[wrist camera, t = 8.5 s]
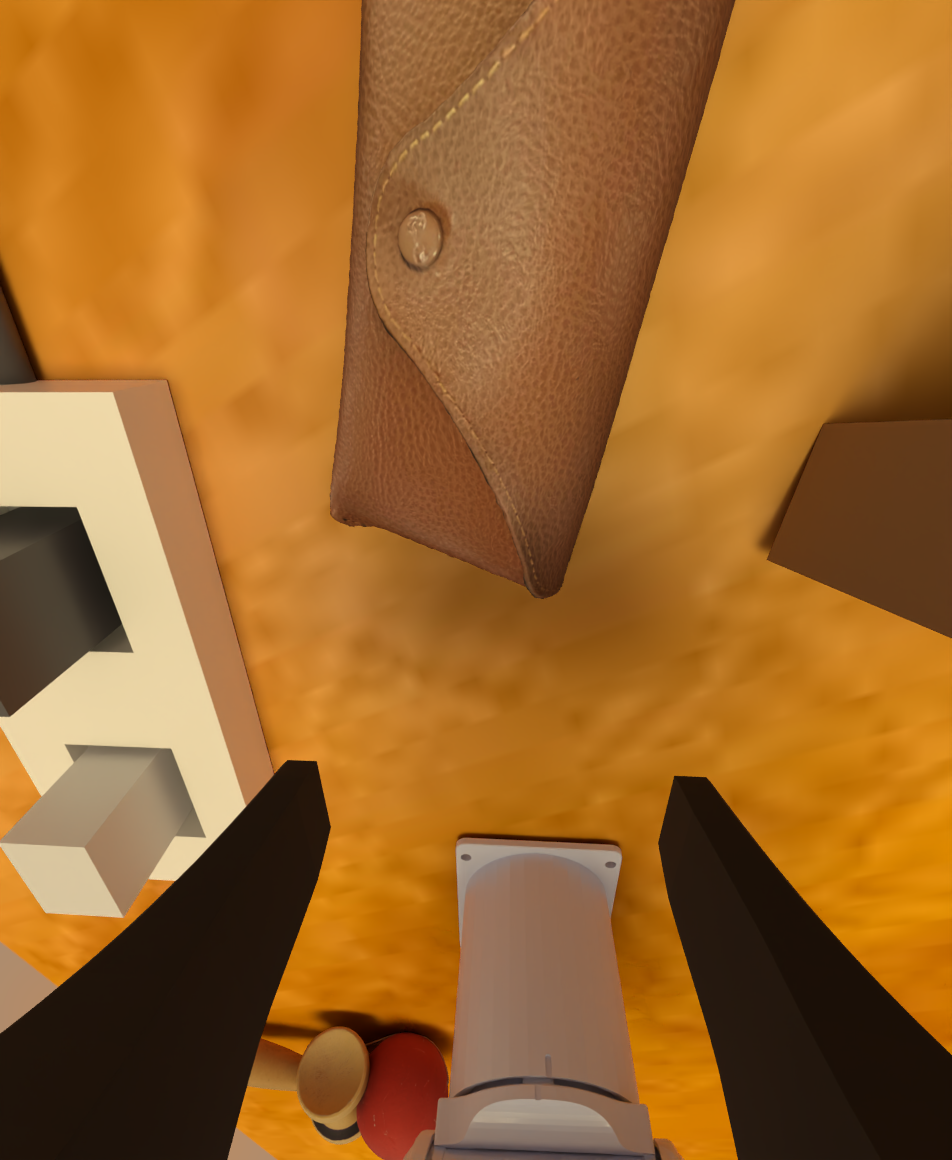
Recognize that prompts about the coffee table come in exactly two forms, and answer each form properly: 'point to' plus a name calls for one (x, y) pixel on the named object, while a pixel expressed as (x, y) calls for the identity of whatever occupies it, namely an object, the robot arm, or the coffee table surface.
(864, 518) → the photo frame
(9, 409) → the power strip
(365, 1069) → the kendama
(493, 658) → the coffee table surface
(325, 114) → the coffee table surface
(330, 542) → the coffee table surface
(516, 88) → the sunglasses case
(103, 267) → the coffee table surface
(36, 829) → the beige plug
